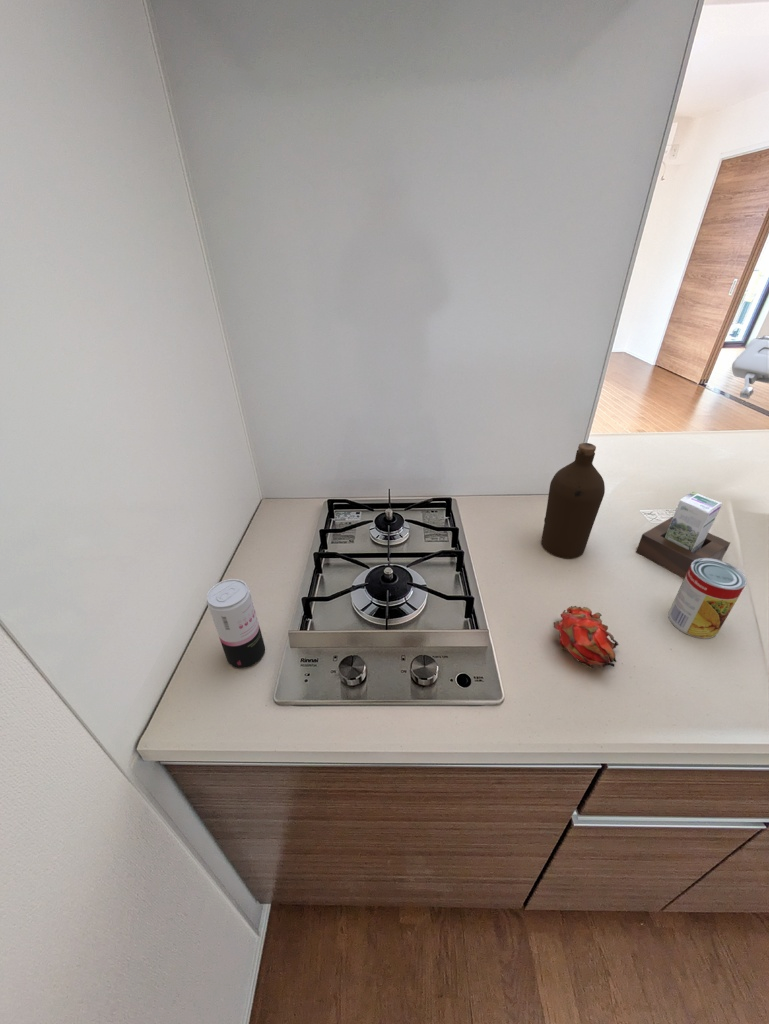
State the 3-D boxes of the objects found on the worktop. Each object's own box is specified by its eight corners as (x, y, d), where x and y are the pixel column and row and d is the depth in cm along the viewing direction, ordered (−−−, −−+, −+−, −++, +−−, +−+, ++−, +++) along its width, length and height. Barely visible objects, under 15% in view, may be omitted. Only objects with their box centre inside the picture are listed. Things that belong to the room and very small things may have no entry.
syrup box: (697, 558, 95) (724, 501, 87) (683, 568, 92) (709, 511, 84) (670, 545, 99) (694, 490, 91) (656, 554, 96) (679, 499, 88)
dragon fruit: (558, 627, 82) (600, 685, 73) (533, 621, 77) (576, 683, 68) (593, 598, 78) (641, 656, 70) (569, 590, 73) (618, 651, 65)
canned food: (728, 632, 78) (758, 582, 71) (693, 643, 76) (721, 593, 69) (691, 602, 84) (715, 553, 77) (658, 611, 82) (680, 563, 76)
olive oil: (597, 557, 96) (629, 454, 82) (551, 563, 95) (576, 460, 81) (571, 529, 105) (596, 432, 91) (530, 535, 103) (549, 437, 89)
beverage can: (219, 659, 76) (196, 597, 68) (247, 634, 80) (229, 573, 72) (246, 676, 73) (225, 613, 65) (273, 648, 78) (257, 586, 69)
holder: (665, 533, 102) (673, 516, 100) (721, 561, 94) (730, 542, 91) (635, 552, 97) (642, 534, 94) (691, 582, 89) (700, 563, 86)
